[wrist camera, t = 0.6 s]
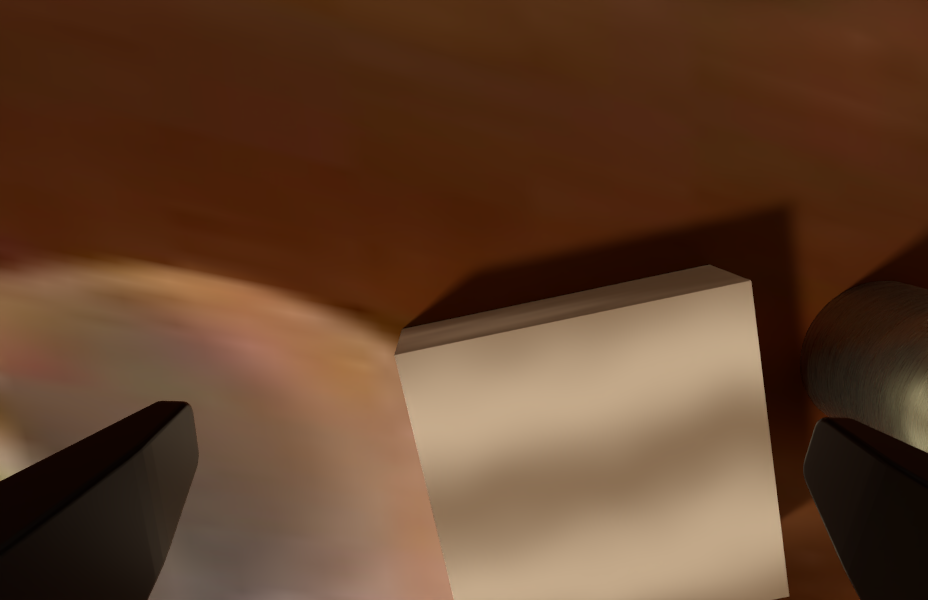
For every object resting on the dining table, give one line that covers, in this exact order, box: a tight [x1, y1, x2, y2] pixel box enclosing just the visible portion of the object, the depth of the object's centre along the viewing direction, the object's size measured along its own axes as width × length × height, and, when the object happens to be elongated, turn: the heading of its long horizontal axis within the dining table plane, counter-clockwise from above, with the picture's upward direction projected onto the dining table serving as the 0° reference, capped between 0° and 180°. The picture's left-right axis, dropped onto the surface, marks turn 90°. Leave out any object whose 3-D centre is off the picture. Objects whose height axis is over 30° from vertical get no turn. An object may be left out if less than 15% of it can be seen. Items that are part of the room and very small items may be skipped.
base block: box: [394, 265, 789, 600], centre depth 24 cm, size 12×12×4 cm
